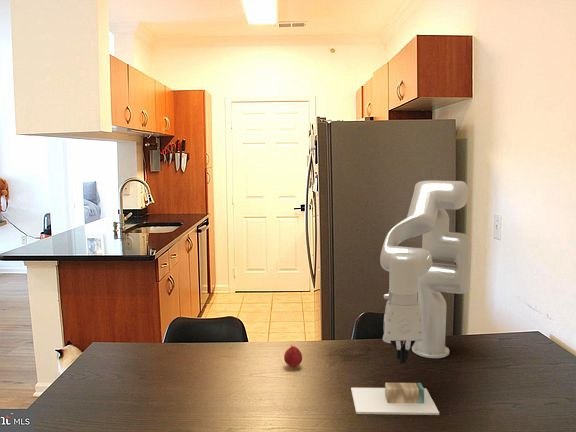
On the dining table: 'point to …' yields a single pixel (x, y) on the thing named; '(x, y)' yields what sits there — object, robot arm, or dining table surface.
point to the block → (404, 393)
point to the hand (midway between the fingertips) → (402, 361)
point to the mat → (377, 403)
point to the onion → (293, 356)
